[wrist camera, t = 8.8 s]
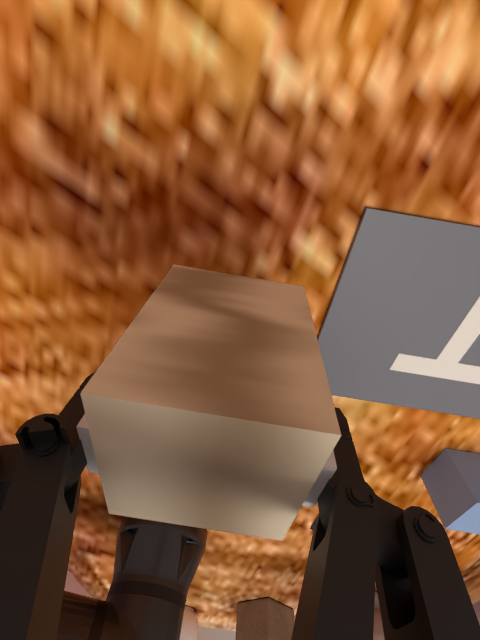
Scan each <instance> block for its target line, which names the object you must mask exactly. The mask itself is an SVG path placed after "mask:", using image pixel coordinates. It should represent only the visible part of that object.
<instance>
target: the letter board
mask: <svg viewBox="0 0 480 640" xmlns="http://www.w3.org/2000/svg"><path fill="white" fill-rule="evenodd" d="M317 340H318V344H319V348H320V352H321V356H322V360H323V364H324V368H325V372H326V376H327V380H328V384H329V388H330V392H331V395H335V396H341V397H348V398H354V399H360V400H366V401H372V402H379V403H385V404H391V405H397V406H403V407H410V408H416V409H422V410H428V411H435V412H441V413H447V414H453V415H459V416H466V417H472V418H478V419H480V227H478V226H472V225H466V224H460V223H455V222H449V221H443V220H437V219H431V218H426V217H420V216H414V215H408V214H402V213H397V212H391V211H385V210H379V209H373V208H368V207H365V210H364V212H363V215H362V218H361V220H360V223H359V226H358V229H357V231H356V234H355V237H354V240H353V242H352V245H351V248H350V250H349V253H348V256H347V259H346V261H345V264H344V267H343V269H342V272H341V275H340V278H339V280H338V283H337V286H336V289H335V291H334V294H333V297H332V299H331V302H330V305H329V308H328V310H327V313H326V316H325V318H324V321H323V324H322V327H321V329H320V332H319V335H318V337H317Z"/></svg>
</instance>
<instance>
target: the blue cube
mask: <svg viewBox="0 0 480 640" xmlns="http://www.w3.org/2000/svg"><path fill="white" fill-rule="evenodd" d="M421 478H422V480H423V482H424V484H425V486H426V488H427V491H428V493H429V495H430V497H431V499H432V501H433V504H434V506H435V508H436V510H437V512H438V514H439V517H440V519H441V521H442V523H443V525H444V527H445V529H450V530H456V531H463V532H469V533H475V534H480V454H478V453H472V452H466V451H459V450H453V449H447V448H446V449H445V450H444V451H443V452H442V453H441V454H440V455H439V456H438V457H437V458H436V459H435V461H434V462H433V463H432V464H431V465H430V466H429V467H428V468H427V469H426V470H425V471H424V472H423V474H422V475H421Z"/></svg>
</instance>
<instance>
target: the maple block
mask: <svg viewBox="0 0 480 640" xmlns="http://www.w3.org/2000/svg"><path fill="white" fill-rule="evenodd" d="M80 394H81V398H82V402H83V407H84V411H85V415H86V419H87V424H88V428H89V432H90V436H91V441H92V445H93V449H94V453H95V458H96V462H97V466H98V470H99V475H100V479H101V483H102V487H103V492H104V496H105V500H106V504H107V509H108V513H109V514H114V515H120V516H126V517H133V518H139V519H146V520H152V521H158V522H165V523H171V524H178V525H184V526H191V527H197V528H203V529H210V530H216V531H223V532H229V533H236V534H242V535H248V536H255V537H261V538H268V539H274V540H280V541H282V540H283V538H284V536H285V535H286V533H287V531H288V529H289V528H290V526H291V524H292V522H293V520H294V519H295V517H296V515H297V513H298V512H299V510H300V508H301V506H302V504H303V503H304V501H305V499H306V497H307V496H308V494H309V492H310V490H311V488H312V487H313V485H314V483H315V481H316V480H317V478H318V476H319V474H320V472H321V471H322V469H323V467H324V465H325V463H326V462H327V460H328V458H329V456H330V455H331V453H332V451H333V449H334V447H335V446H336V444H337V442H338V440H339V439H340V437H341V432H340V428H339V424H338V420H337V416H336V412H335V408H334V404H333V400H332V396H331V392H330V388H329V384H328V380H327V376H326V372H325V368H324V364H323V360H322V356H321V352H320V348H319V344H318V340H317V336H316V332H315V328H314V324H313V320H312V316H311V312H310V308H309V304H308V300H307V296H306V292H305V288H304V286H299V285H293V284H287V283H281V282H276V281H270V280H264V279H258V278H252V277H246V276H240V275H234V274H228V273H222V272H216V271H210V270H204V269H198V268H192V267H187V266H181V265H175V264H174V265H173V266H172V267H171V269H170V270H169V272H168V273H167V274H166V276H165V277H164V278H163V280H162V281H161V283H160V284H159V285H158V287H157V288H156V289H155V291H154V292H153V294H152V295H151V296H150V298H149V299H148V301H147V302H146V303H145V305H144V306H143V307H142V309H141V310H140V312H139V313H138V314H137V316H136V317H135V318H134V320H133V321H132V323H131V324H130V325H129V327H128V328H127V329H126V331H125V332H124V334H123V335H122V336H121V338H120V339H119V340H118V342H117V343H116V345H115V346H114V347H113V349H112V350H111V351H110V353H109V354H108V356H107V357H106V358H105V360H104V361H103V363H102V364H101V365H100V367H99V368H98V369H97V371H96V372H95V374H94V375H93V376H92V378H91V379H90V380H89V382H88V383H87V385H86V386H85V387H84V389H83V390H82V391H81V393H80Z"/></svg>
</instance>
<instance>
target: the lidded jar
mask: <svg viewBox="0 0 480 640" xmlns="http://www.w3.org/2000/svg"><path fill="white" fill-rule="evenodd" d="M198 639H199V624H198V619H197V617H196V614H195V613H194V609H193V608H191V607H188V606H185V609H184V615H183V621H182V627H181V633H180V639H179V640H198Z"/></svg>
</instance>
